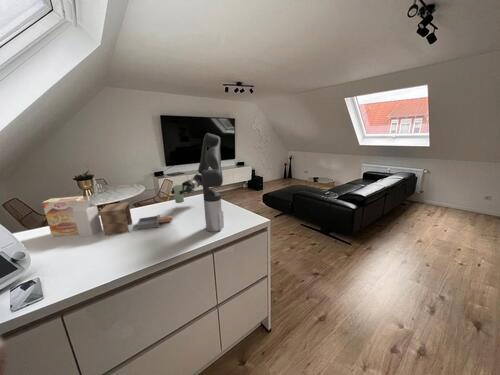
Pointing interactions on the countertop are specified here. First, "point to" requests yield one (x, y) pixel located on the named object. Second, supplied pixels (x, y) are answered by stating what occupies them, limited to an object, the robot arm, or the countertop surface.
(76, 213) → the milk carton
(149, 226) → the tray
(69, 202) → the coffeecake box
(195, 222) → the countertop surface
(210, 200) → the robot arm
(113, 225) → the cabinet
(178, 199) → the jar
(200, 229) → the countertop surface
